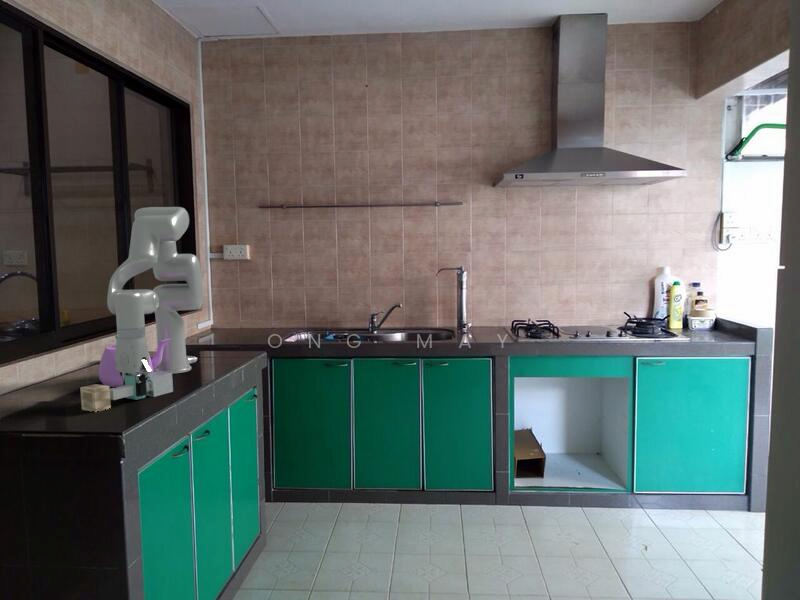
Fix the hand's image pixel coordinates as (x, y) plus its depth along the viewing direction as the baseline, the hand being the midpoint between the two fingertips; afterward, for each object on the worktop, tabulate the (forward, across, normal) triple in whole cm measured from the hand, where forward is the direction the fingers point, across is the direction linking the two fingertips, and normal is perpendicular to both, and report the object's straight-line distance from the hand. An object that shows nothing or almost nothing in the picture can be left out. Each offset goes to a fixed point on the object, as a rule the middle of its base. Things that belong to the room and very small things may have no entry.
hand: (135, 394), depth 180 cm
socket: (+1, 0, -12) cm, 13 cm away
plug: (+1, 0, +1) cm, 2 cm away
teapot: (+2, -21, +13) cm, 25 cm away
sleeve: (+1, 0, +8) cm, 8 cm away
